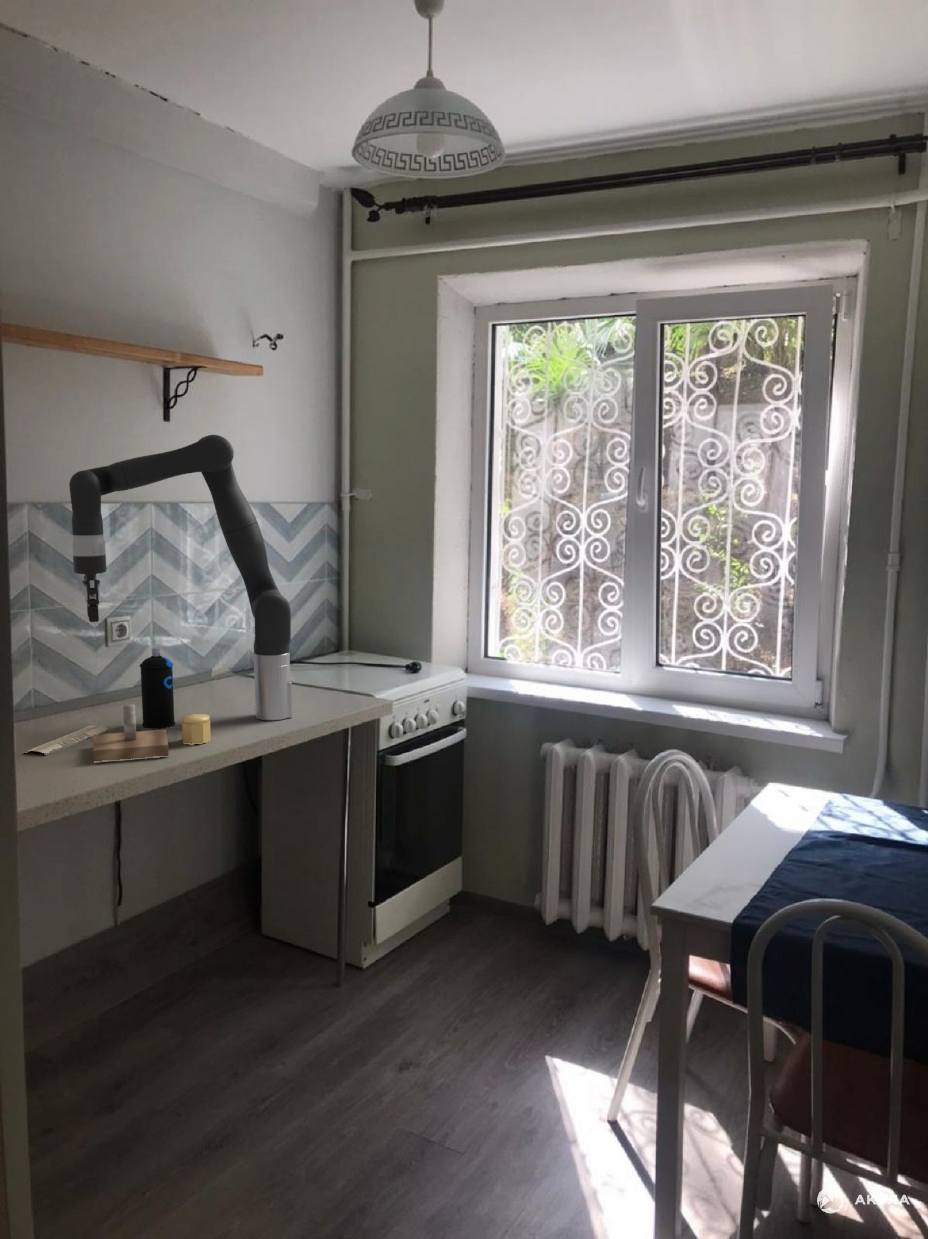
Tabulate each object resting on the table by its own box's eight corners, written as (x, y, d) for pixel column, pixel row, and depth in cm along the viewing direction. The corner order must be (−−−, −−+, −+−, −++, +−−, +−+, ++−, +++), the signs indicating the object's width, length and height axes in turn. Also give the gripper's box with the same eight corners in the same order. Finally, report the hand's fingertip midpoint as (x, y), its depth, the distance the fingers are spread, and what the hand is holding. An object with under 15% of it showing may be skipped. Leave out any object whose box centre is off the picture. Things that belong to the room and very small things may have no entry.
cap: (209, 737, 243) (208, 713, 242) (211, 743, 237) (210, 719, 236) (182, 739, 241) (181, 714, 240) (183, 746, 235) (182, 721, 234)
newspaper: (87, 731, 250) (86, 724, 250) (111, 733, 249) (111, 726, 248) (23, 757, 228) (22, 749, 228) (49, 759, 226) (49, 751, 226)
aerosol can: (141, 730, 249) (137, 651, 246) (142, 722, 257) (139, 645, 254) (175, 728, 251) (172, 650, 249) (175, 720, 259) (172, 644, 256)
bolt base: (165, 741, 239) (164, 696, 237) (168, 757, 226) (166, 710, 224) (94, 747, 234) (92, 701, 232) (93, 763, 220) (90, 715, 219)
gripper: (107, 555, 237) (111, 622, 239) (104, 550, 250) (107, 614, 252) (73, 556, 234) (77, 624, 237) (71, 551, 247) (76, 616, 250)
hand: (93, 619), depth 244 cm, fingers open, 8 cm apart
